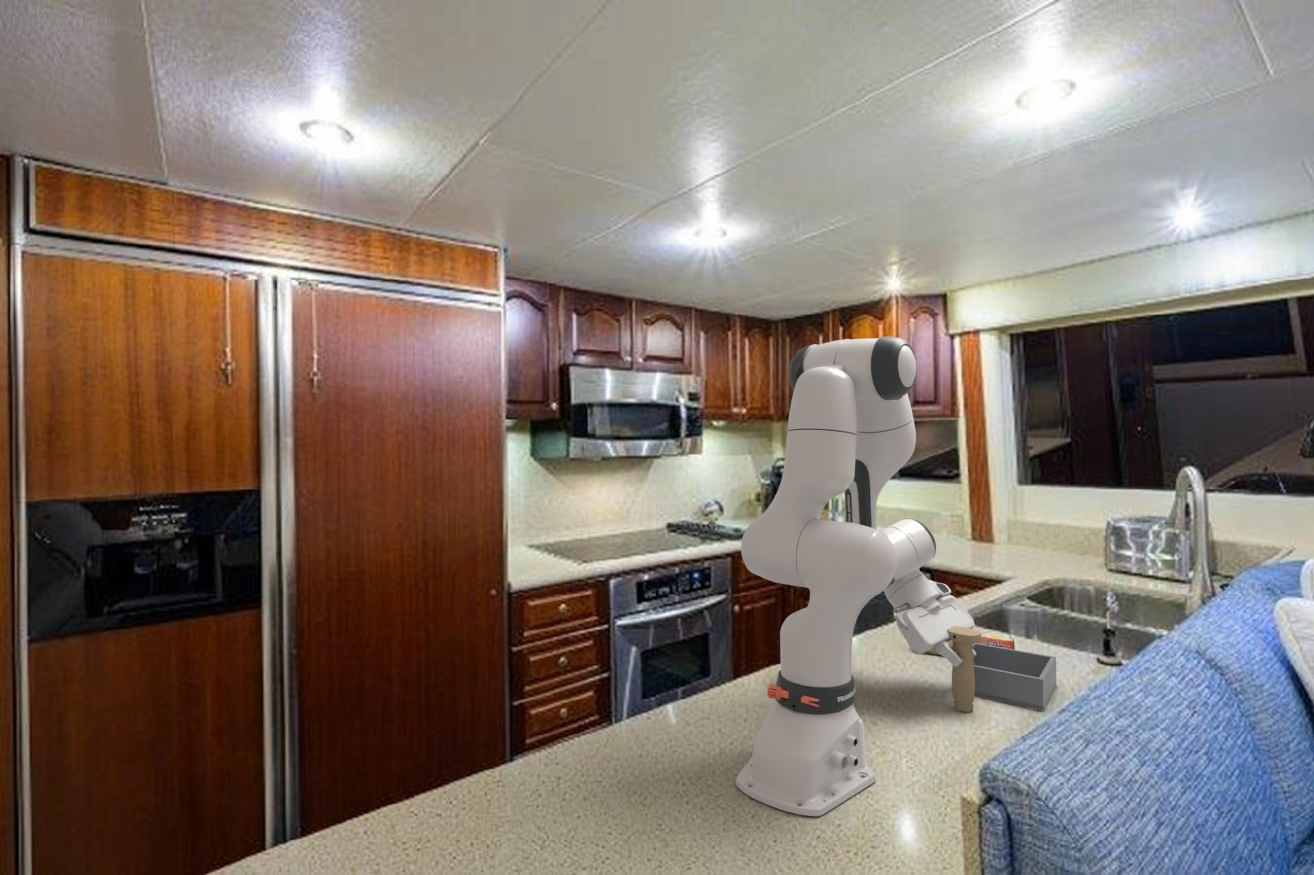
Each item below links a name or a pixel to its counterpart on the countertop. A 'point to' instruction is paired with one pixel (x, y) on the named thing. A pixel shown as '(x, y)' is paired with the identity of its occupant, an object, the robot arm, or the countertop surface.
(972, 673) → the handle
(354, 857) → the countertop surface
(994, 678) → the box
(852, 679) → the robot arm
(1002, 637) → the snack package
